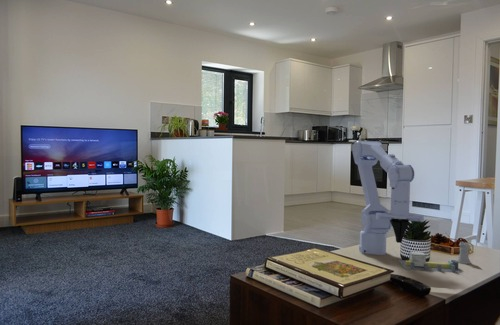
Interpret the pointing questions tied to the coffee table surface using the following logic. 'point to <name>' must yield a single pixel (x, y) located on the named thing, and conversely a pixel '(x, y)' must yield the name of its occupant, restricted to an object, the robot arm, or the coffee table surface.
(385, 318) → the coffee table surface
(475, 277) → the coffee table surface
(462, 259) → the rook chess piece
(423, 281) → the coffee table surface
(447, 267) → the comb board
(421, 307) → the coffee table surface
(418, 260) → the sleeve
